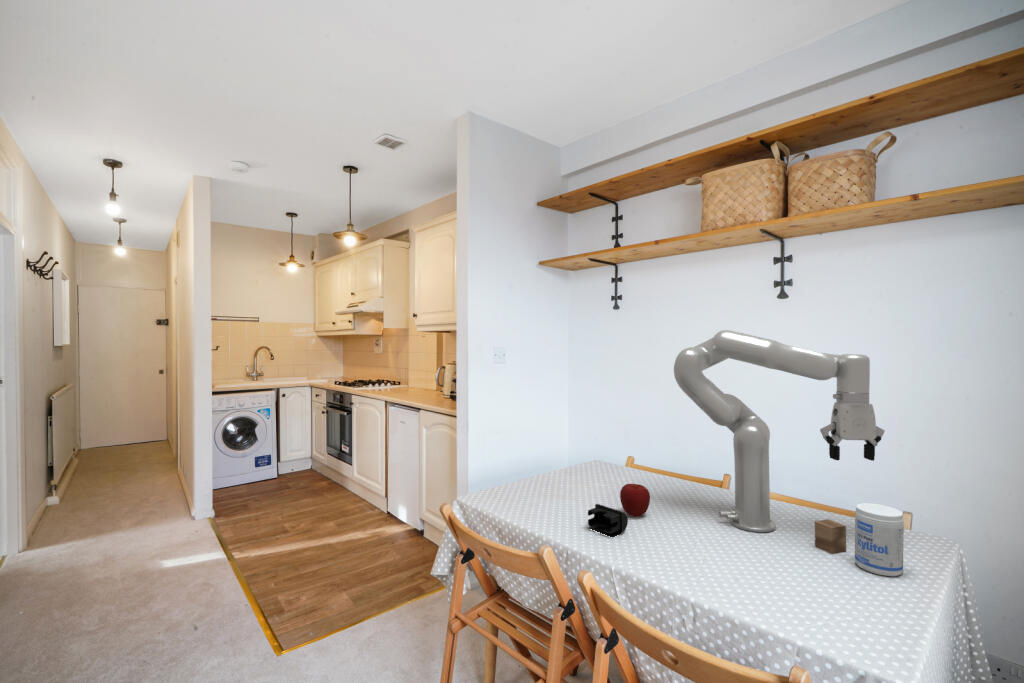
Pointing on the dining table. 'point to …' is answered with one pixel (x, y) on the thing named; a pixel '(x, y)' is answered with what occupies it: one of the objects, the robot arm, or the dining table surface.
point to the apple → (635, 499)
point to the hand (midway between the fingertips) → (851, 459)
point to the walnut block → (830, 536)
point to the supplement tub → (879, 539)
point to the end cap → (607, 520)
